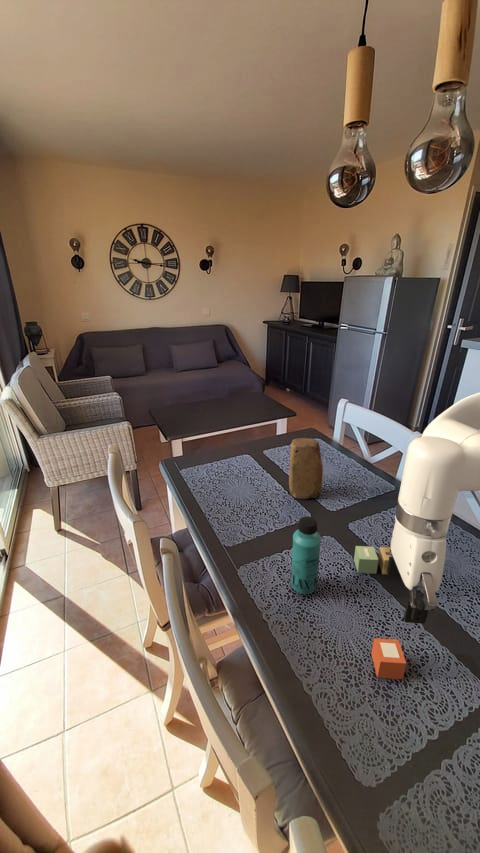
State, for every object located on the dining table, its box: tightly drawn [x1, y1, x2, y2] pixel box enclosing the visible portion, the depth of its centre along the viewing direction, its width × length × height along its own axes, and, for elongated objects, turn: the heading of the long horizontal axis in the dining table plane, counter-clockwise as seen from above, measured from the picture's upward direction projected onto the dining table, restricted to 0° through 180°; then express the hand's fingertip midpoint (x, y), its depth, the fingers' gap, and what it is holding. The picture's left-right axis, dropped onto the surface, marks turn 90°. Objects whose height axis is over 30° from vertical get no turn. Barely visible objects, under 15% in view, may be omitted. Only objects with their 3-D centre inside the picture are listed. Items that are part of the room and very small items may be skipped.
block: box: [288, 437, 324, 500], centre depth 119 cm, size 11×8×20 cm
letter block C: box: [371, 637, 407, 680], centre depth 68 cm, size 5×5×5 cm
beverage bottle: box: [289, 515, 322, 595], centre depth 83 cm, size 6×7×20 cm
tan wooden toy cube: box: [377, 546, 392, 575], centre depth 91 cm, size 5×5×5 cm
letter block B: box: [353, 545, 379, 575], centre depth 91 cm, size 5×5×5 cm
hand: (404, 596), depth 62 cm, fingers open, 9 cm apart
